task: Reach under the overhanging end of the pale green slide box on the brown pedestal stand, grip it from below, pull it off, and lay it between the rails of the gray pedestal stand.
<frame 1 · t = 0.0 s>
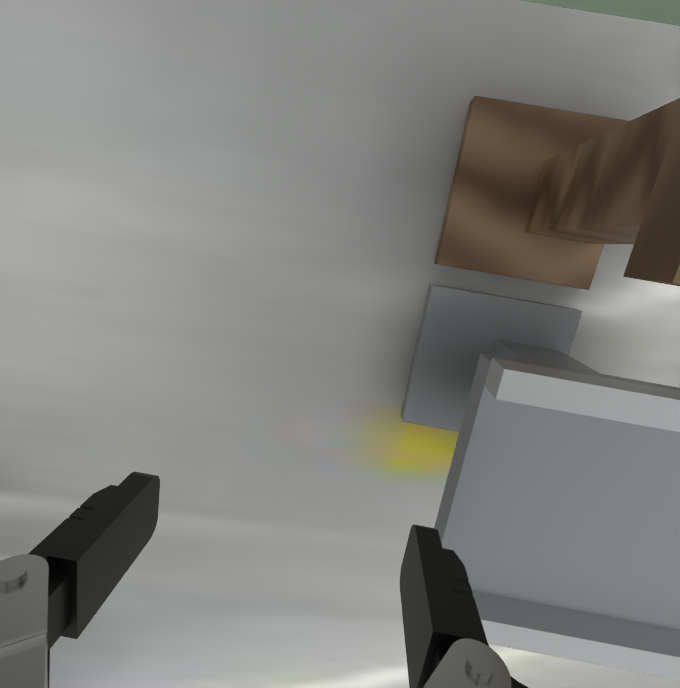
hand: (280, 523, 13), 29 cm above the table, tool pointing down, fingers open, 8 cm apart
gray pedestal stand: (483, 364, 41), on the table
brown pedestal stand: (527, 199, 37), on the table
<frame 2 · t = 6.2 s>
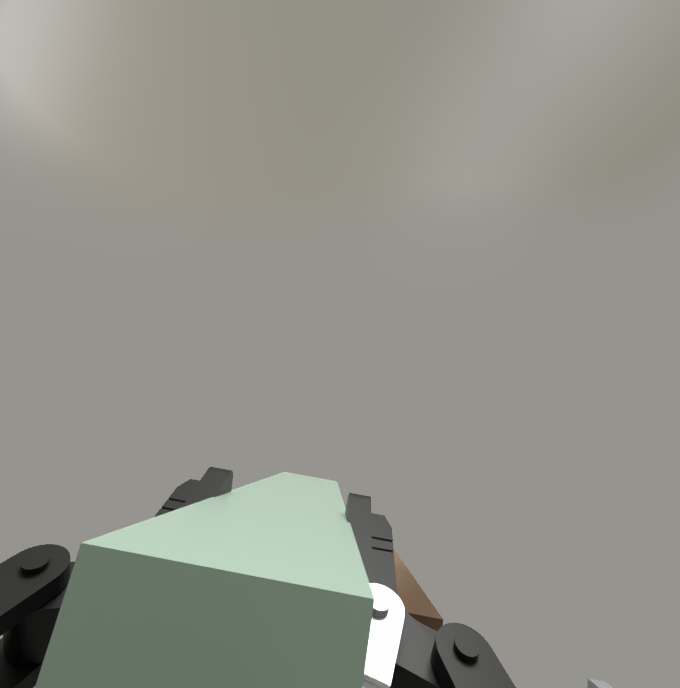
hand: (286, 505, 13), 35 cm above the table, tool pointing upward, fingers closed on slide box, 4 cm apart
slide box: (283, 564, 17), point 32 cm above the table, touching gripper, brown pedestal stand
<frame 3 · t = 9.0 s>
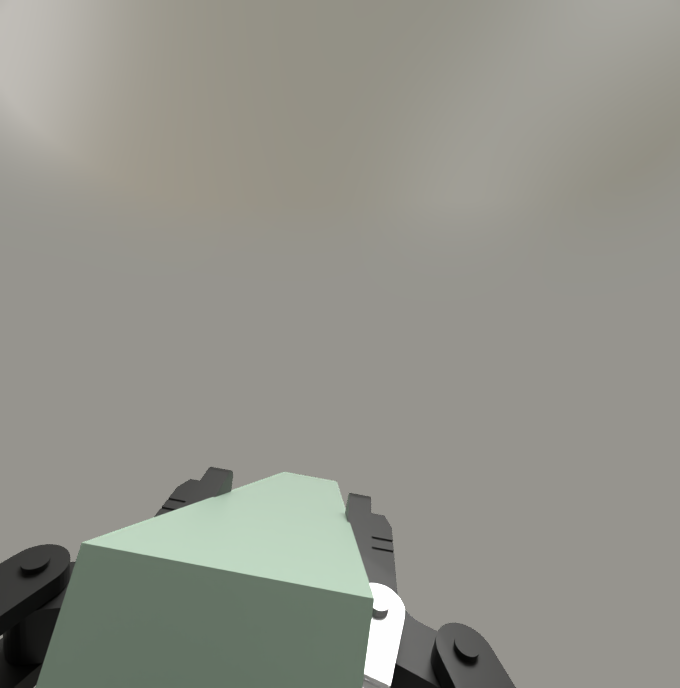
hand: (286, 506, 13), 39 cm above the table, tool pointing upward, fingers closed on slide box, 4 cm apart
slide box: (283, 564, 17), point 36 cm above the table, touching gripper
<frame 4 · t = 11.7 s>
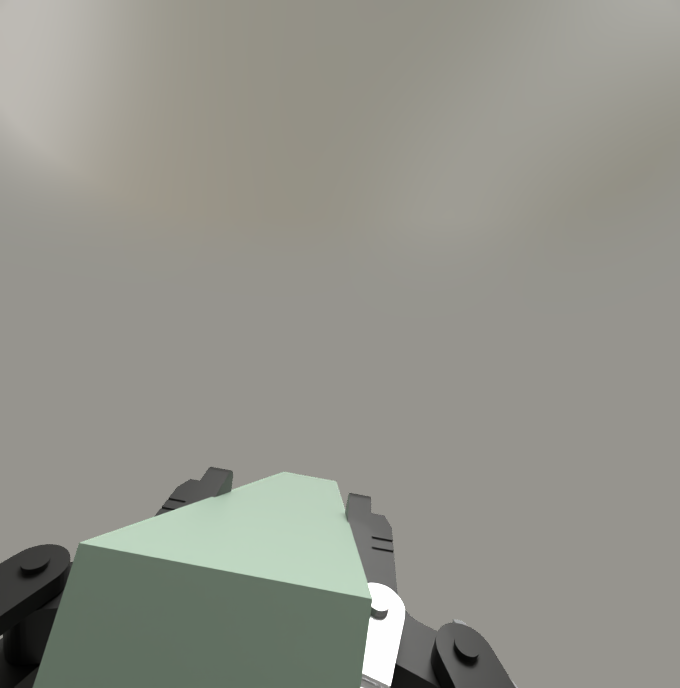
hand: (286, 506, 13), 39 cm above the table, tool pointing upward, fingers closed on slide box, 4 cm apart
slide box: (282, 564, 17), point 36 cm above the table, touching gripper
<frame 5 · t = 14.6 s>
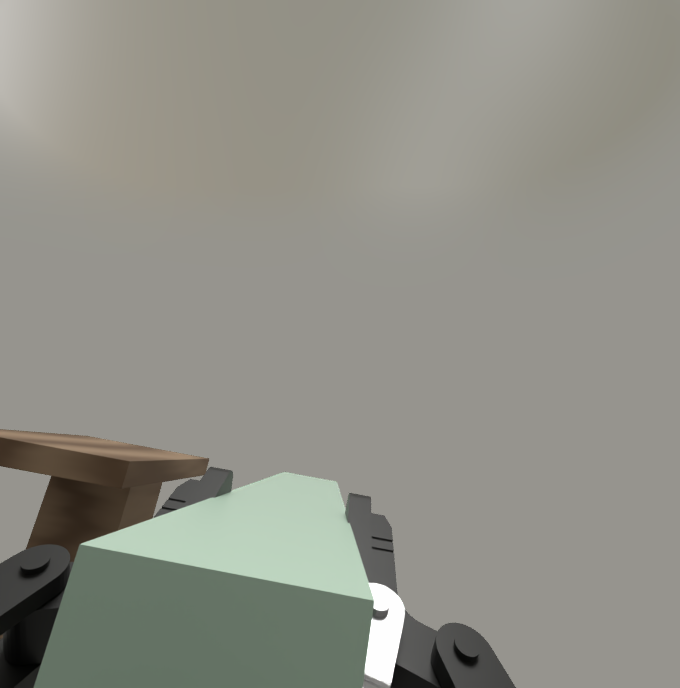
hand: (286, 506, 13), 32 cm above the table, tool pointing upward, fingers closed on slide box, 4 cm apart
slide box: (283, 565, 17), point 30 cm above the table, touching gripper
when the fingers open (28 cm above the table, at t = 17.3 s): slide box drops 1 cm, resting on gray pedestal stand.
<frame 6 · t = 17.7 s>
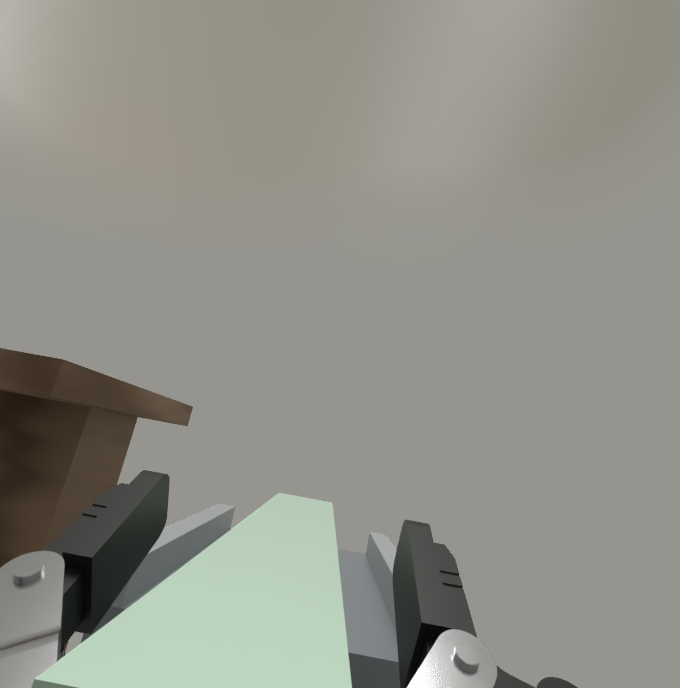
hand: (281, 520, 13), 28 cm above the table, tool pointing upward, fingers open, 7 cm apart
slide box: (275, 605, 17), point 24 cm above the table, touching gray pedestal stand
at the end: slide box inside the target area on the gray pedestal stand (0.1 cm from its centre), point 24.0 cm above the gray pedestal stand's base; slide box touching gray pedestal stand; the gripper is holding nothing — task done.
